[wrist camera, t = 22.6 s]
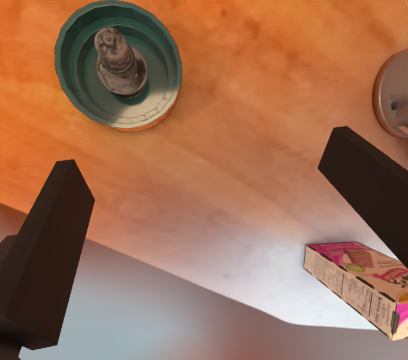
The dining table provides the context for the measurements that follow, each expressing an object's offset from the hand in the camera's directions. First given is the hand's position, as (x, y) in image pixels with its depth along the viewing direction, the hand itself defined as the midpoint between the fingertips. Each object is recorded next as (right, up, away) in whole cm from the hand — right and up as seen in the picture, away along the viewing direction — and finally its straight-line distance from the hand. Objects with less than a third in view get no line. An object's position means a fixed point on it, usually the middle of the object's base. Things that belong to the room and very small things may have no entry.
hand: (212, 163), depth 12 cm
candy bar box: (+23, -15, +30) cm, 40 cm away
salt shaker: (-11, +13, +19) cm, 26 cm away
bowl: (-11, +13, +19) cm, 26 cm away
